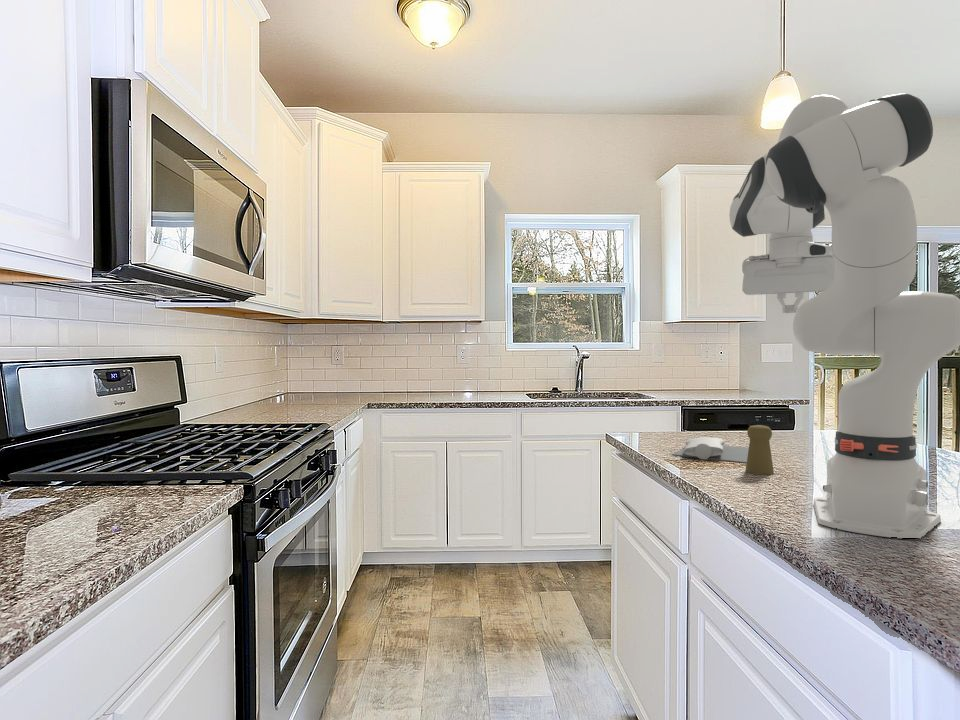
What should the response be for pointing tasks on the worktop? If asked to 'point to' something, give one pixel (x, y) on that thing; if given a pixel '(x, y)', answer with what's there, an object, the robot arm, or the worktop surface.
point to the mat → (725, 454)
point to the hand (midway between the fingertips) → (790, 312)
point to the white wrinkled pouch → (704, 447)
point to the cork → (759, 451)
